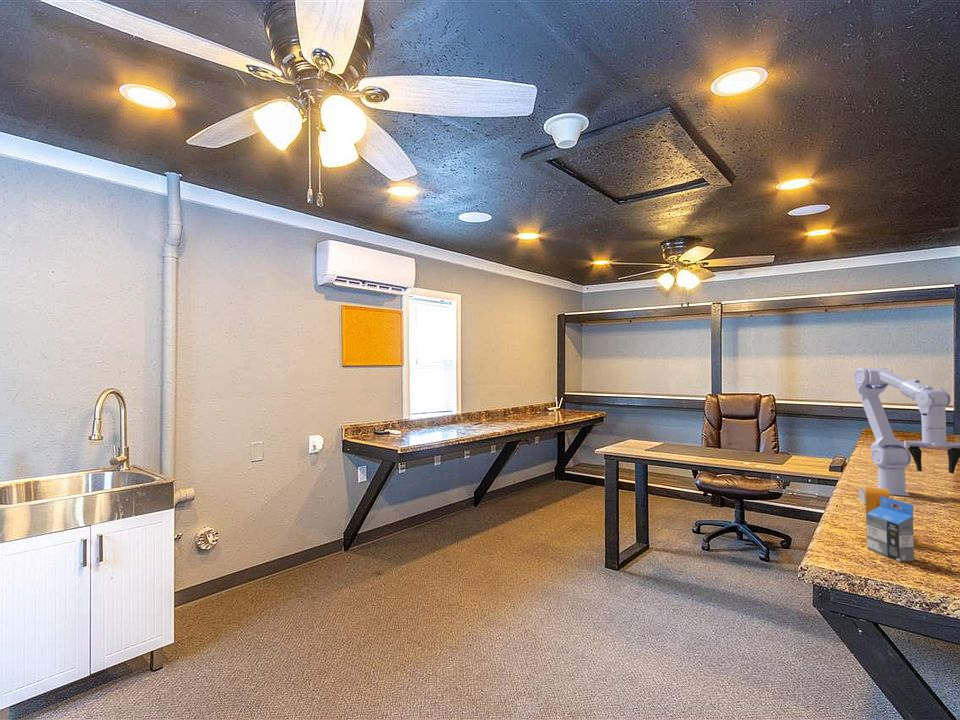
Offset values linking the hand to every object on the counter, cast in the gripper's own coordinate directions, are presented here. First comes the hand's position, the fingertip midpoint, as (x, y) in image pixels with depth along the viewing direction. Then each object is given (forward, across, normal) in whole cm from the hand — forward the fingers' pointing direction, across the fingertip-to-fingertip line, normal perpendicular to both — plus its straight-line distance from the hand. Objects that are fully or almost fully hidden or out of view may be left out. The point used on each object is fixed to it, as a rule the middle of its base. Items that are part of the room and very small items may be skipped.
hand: (935, 471), depth 160 cm
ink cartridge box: (+11, -23, -61) cm, 66 cm away
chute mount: (+10, -16, -4) cm, 19 cm away
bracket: (+11, -21, -45) cm, 51 cm away
